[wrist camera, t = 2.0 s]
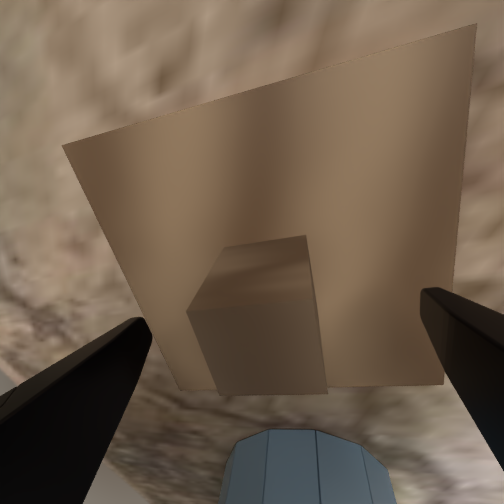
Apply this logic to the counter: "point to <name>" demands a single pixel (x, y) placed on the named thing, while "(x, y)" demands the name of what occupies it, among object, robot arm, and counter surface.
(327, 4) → the counter surface
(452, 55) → the cover board
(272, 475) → the bowl
